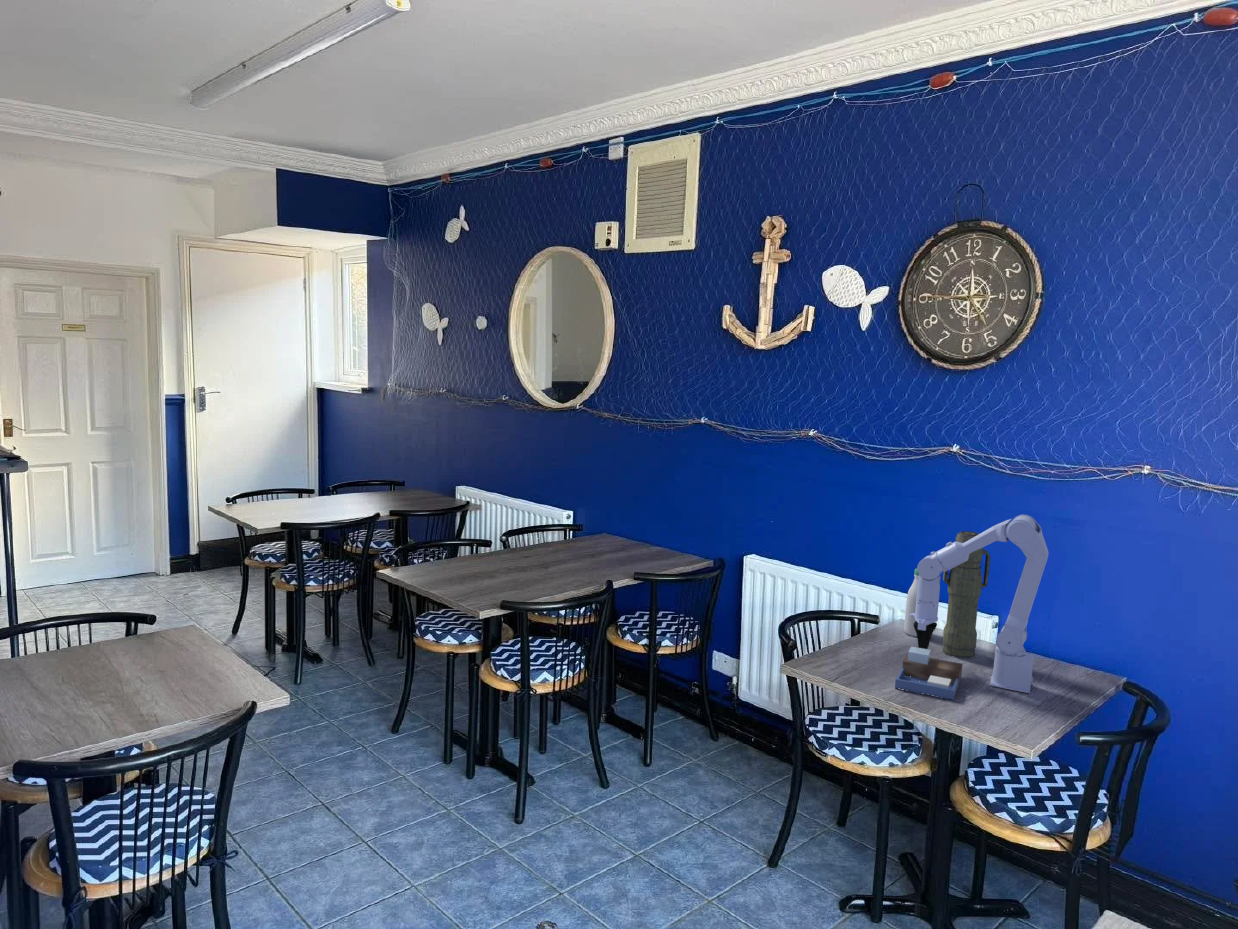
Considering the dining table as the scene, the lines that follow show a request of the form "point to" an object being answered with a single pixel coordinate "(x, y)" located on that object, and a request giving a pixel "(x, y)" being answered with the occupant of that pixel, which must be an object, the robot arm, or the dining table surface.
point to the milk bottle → (911, 607)
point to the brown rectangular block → (933, 669)
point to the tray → (924, 686)
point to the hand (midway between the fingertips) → (923, 649)
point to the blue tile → (919, 655)
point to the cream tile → (939, 682)
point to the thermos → (964, 601)
